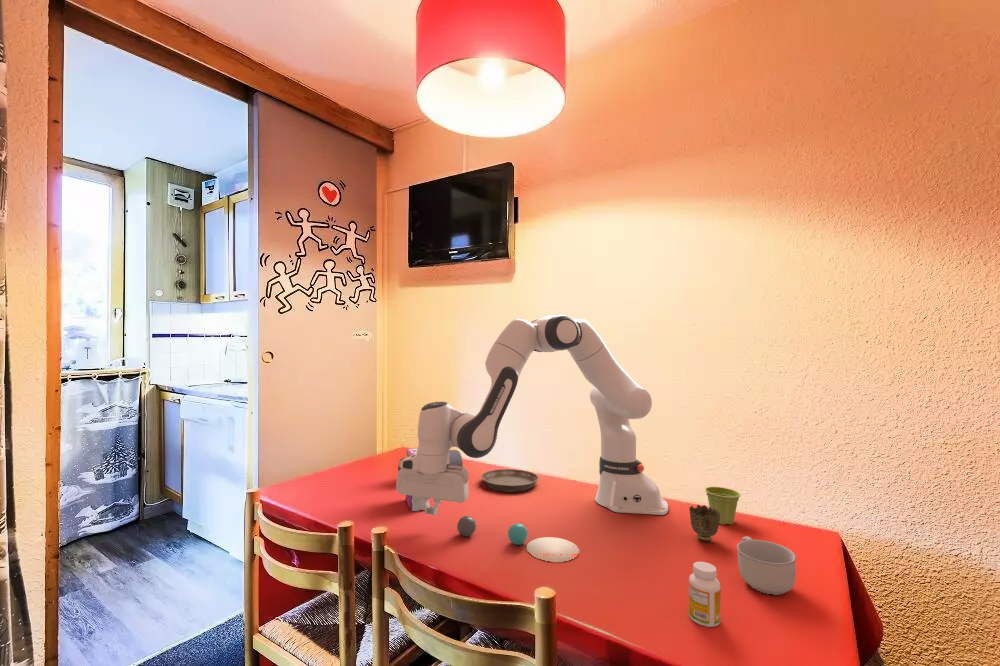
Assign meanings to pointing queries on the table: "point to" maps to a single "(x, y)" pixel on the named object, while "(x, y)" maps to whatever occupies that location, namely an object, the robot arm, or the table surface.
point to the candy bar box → (412, 501)
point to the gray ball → (466, 526)
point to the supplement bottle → (704, 595)
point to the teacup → (766, 566)
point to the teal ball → (517, 534)
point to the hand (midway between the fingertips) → (431, 513)
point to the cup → (704, 522)
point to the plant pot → (723, 503)
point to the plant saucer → (509, 480)
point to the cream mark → (552, 549)
